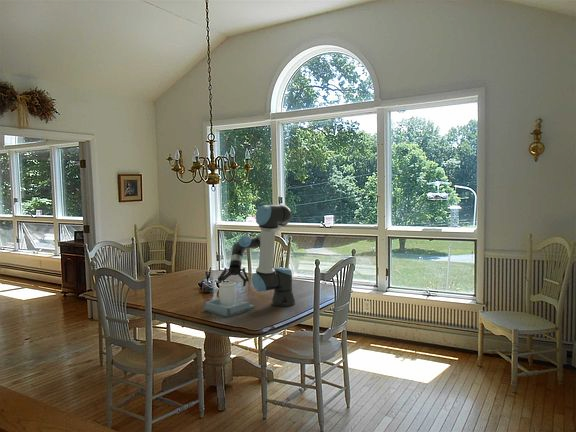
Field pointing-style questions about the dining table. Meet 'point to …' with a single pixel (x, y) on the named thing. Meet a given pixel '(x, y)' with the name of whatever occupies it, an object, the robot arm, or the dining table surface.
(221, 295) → the jar
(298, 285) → the dining table surface
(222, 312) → the tray
